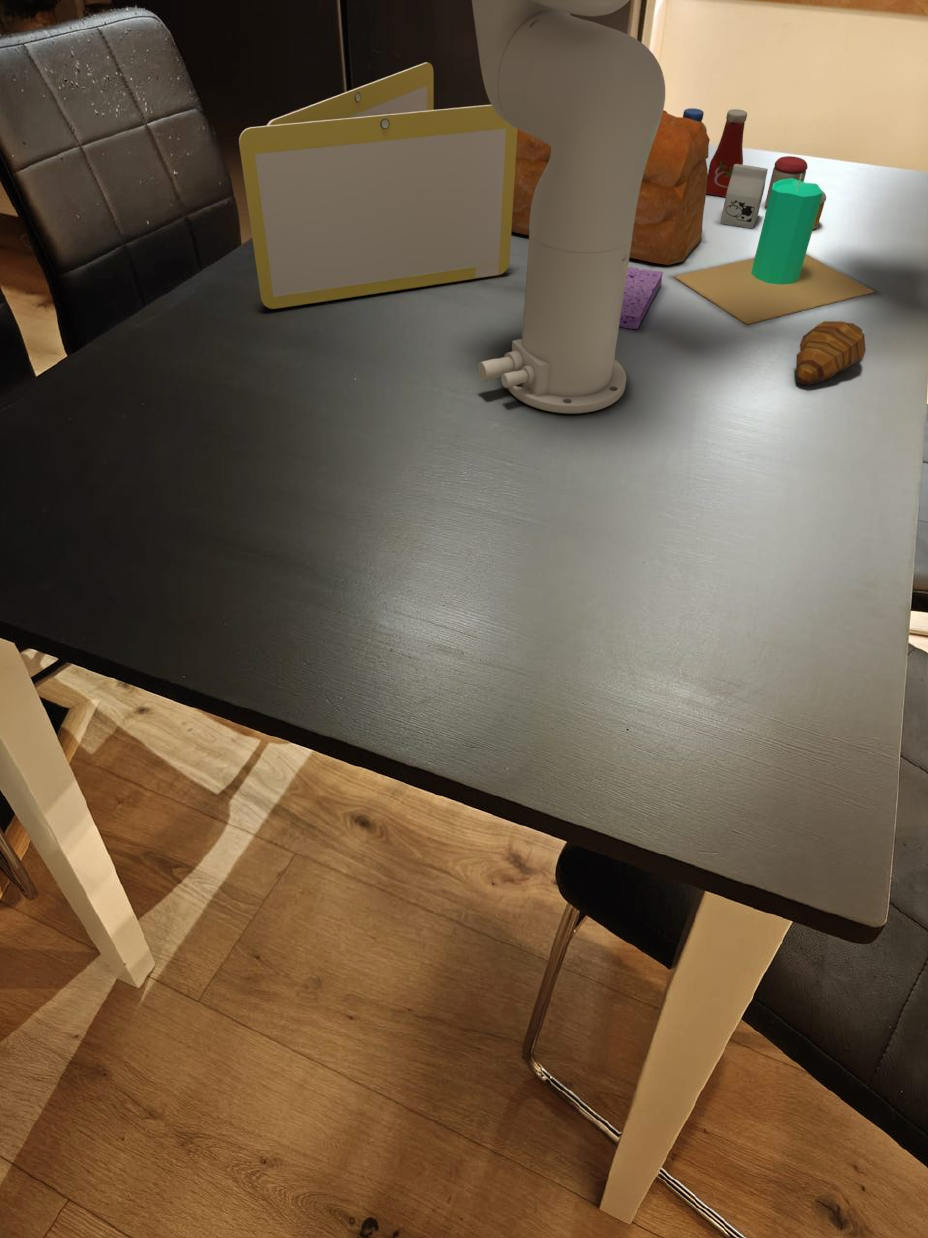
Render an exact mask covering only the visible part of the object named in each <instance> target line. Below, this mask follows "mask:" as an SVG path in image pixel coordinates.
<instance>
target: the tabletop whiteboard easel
mask: <svg viewBox="0 0 928 1238" xmlns="http://www.w3.org/2000/svg"><path fill="white" fill-rule="evenodd" d="M434 75H435V74H434V67H433V65H432V63H430V62H428V61H427V62H422V63H420V64H416V65H415V66H412V67H409V68H407V69H404V70H402V71H398V72H396V73H393V74H391V75H388V76H385V77H383V78H379V79H377V80H375V81H372V82H369V83H367V84H363V85H361V86H359V87H356V88H353V89H350V90H348V91H345V92H343V93H342V92H341V93H340V94H338V95H335V96H332V97H329V98H327V99H323V100H320V101H318V102H316V103H314V104H310V105H308V106H305V107H302V108H299V109H296V110H294V111H291V112H289V113H286V114H284V115H281V116H279V117H276V118H273V119H271V120H269V121H268V122H267V124H266V125H261V126H260V125H259V126H249V127H247V128H245V129H244V130H242V132H241V133H240V135H239V138H238V145H239V153H240V159H241V161H240V162H241V167H242V174H243V182H244V189H245V196H246V202H247V203H246V204H247V210H248V217H249V223H250V224H249V225H250V231H251V238H252V245H253V252H254V253H253V254H254V260H255V267H256V275H257V280H258V281H257V282H258V288H259V296H260V300H261V302H262V304H263V305H264V306H265V307H266V308H268V309H271V310H276V309H282V308H283V309H284V308H288V307H289V308H290V307H297V306H302V305H309V304H316V303H322V302H330V301H336V300H343V299H349V298H355V297H363V296H368V295H376V294H381V293H387V292H395V291H400V290H409V289H416V288H422V287H427V286H435V285H443V284H448V283H455V282H462V281H468V280H474V279H480V278H487V277H495V276H500V275H502V274H504V273H505V272H506V271H507V270H508V269H509V266H510V260H511V259H510V258H511V244H512V231H511V229H512V212H513V196H514V179H515V163H516V147H517V130H518V129H517V128H515V127H513V126H512V125H510V124H509V123H507V122H506V121H504V120H503V119H502V118H501V117H500V116H499V115H498V114H497V112H496V111H495V110H494V108H493V106H492V105H491V104H484V105H483V104H482V105H473V106H472V105H471V106H461V107H452V108H451V107H450V108H443V109H442V108H441V109H440V108H439V109H434V102H435V101H434V100H435V98H434V95H435V94H434V92H435V91H434V88H435V87H434V85H435V84H434V81H435V79H434V78H435V77H434Z"/></svg>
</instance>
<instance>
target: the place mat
mask: <svg viewBox="0 0 928 1238" xmlns="http://www.w3.org/2000/svg"><path fill="white" fill-rule="evenodd" d="M754 259H755V257H753V258H748V259H743V260H740V261H735V262H731V263H725V264H721V265H717V266H713V267H707V268H703V269H699V270H695V271H694V270H693V271H691V272H687V273H681V274H676V275H674V276H673V278H674V279H675V280H677V281H679V282H680V283H681V284H683V285H684V286H686V287H688V289H691V290H692V291H694V292H695V293H697V294H698V295H700V296H702V298H704V299H706V300H708V301H709V302H711V303H712V304H713V305H715V306H717V307H718V308H720V309H721V310H723V311H724V312H726V313H727V314H729V315H730V316H732V317H733V318H735V319H736V320H738V321H739V322H741V323H743V324H744V325H745V326H749V325H752V324H757V323H761V322H764V321H765V322H766V321H769V320H772V319H776V318H780V317H784V316H788V315H792V314H796V313H799V312H803V311H808V310H812V309H815V308H819V307H820V308H821V307H823V306H827V305H831V304H835V303H839V302H843V301H847V300H851V299H854V298H858V297H863V296H866V295H870V294H873V293H875V290H873V289H871V288H869V287H868V286H865V285H864V284H862V283H860V282H859V281H857V280H855V279H853V278H851V277H850V276H848V275H845V274H844V273H842V272H840V271H838V270H836V269H835V268H832V267H831V266H829V265H827V264H826V263H823V262H822V261H820V260H818V259H816V258H815V257H813V256H811V255H809V254H807V253H806V255H805V259H804V262H803V266H802V269H801V273H800V276H799V280H797V281H795V282H794V283H792V284H781V285H779V284H772V283H767V282H764V281H761V280H759V279H757V278H755V277H754V276H753V275H752V274H751V272H752V267H753V263H754Z"/></svg>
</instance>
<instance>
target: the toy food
mask: <svg viewBox="0 0 928 1238" xmlns="http://www.w3.org/2000/svg"><path fill="white" fill-rule="evenodd" d="M747 112H748V111H745V110H743V109H738V108H736V109H735V108H734V109H733V108H731V109H729V110H728V111H727V114H726V116H725V117H726V118H725V119H726V120H725V124H724V127H723V131H722V134H721V137H720V140H719V142H718V145H717V148H716V149H715V153H714V154H713V156H712V158H711V160H710V162H709V164H708V165H709V166H708V179H707V188H706V195H711V196H718V197H724V202H723V208H722V212H721V217H720V224H722V225H727V226H734V227H739V228H747V229H753V228H754V226H755V224H756V222H757V219H758V217H759V212H760V209H761V206H762V205H761V204H762V200H763V196H764V191H765V186H766V180H767V175H768V168H765V167H761V166H755V165H747V164H744V154H743V153H744V152H743V151H744V150H743V141H744V133H745V132H744V131H745V125H746V124H745V123H746V121H747V118H748V113H747ZM663 113H668V111H667V110H664V109H663ZM704 114H705V112H704V110H702V109H699V108H693V107H692V108H691V107H690V108H686V109H684V110H683V114H682V118H689V119H692V120H695V121H698V122H702V124H703V126H704V128H705V131H706V133H707V134H708V130H707V126H706V125H705V123H704V122H703V119H704ZM807 170H808V163H807V161H806V160H805V159H803V158H802V157H799V156H793V155H785V156H781V157H779V158H777V159H776V160H775V162H774V167H773V168H772V173H771V176H770V180H769V185H768V189H767V193H766V198H765V202H764V205H765V208H767V206H768V202H769V198H770V194H771V189H772V185H773V183H775V182H777V181H779V180H784V179H790V178H793V179H796V180H799V179H800V176H801V173H802V177H801V180H800V181H802V182H805V178H806V174H807ZM826 201H827V194H826V193H825V191H823V195H822V199H821V202H820V206H819V209H818V213H817V216H816V220H815V223H814V227H813V230H815V229H816V228H818V225H819V223H820V220H821V217H822V213H823V209H824V206H825V203H826Z"/></svg>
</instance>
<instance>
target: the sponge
mask: <svg viewBox="0 0 928 1238" xmlns="http://www.w3.org/2000/svg"><path fill="white" fill-rule="evenodd" d="M663 274H664V272H663V271H660V270H652V269H646V268H643V269H641V270H640V269H639V268H638V267H632V266H628V269H627V276H626V283H625V290H624V296H623V303H622V310H621V317H620V324H619V327H621V328H623V329H633V330H636V329H639V327H640V325H641V323H642V321H643V320H644V318H645V315H646V313H647V312H648V310H649V308H650V306H651V304H652V301H653V300H654V297H656V294H657V293H658V291H659V289H660V286H661V285H662V279H663Z"/></svg>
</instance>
